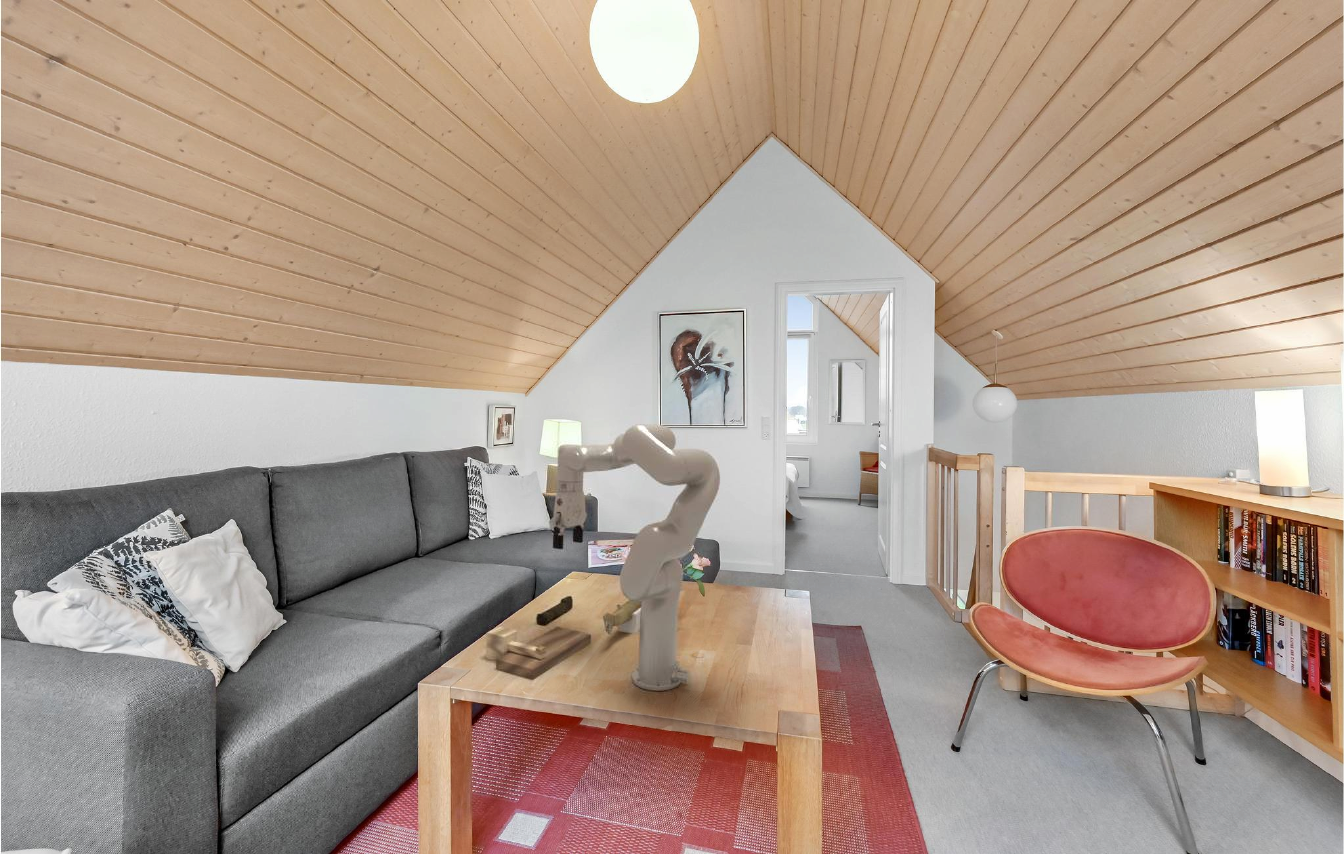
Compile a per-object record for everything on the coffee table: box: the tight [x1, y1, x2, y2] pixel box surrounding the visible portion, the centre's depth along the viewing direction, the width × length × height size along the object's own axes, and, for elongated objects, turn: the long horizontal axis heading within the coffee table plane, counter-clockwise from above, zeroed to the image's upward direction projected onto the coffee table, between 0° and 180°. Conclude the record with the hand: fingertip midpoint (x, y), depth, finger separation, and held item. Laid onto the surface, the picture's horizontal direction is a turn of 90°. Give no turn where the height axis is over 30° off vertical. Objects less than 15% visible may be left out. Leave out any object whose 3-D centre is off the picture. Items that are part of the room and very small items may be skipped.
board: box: [495, 626, 592, 680], centre depth 151 cm, size 12×26×3 cm, turn 155°
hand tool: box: [535, 595, 574, 626], centre depth 181 cm, size 19×4×5 cm, turn 157°
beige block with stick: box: [485, 626, 546, 662], centre depth 146 cm, size 17×5×7 cm, turn 65°
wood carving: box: [602, 599, 642, 635], centre depth 170 cm, size 9×35×11 cm, turn 161°
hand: (568, 545), depth 160 cm, fingers open, 9 cm apart
